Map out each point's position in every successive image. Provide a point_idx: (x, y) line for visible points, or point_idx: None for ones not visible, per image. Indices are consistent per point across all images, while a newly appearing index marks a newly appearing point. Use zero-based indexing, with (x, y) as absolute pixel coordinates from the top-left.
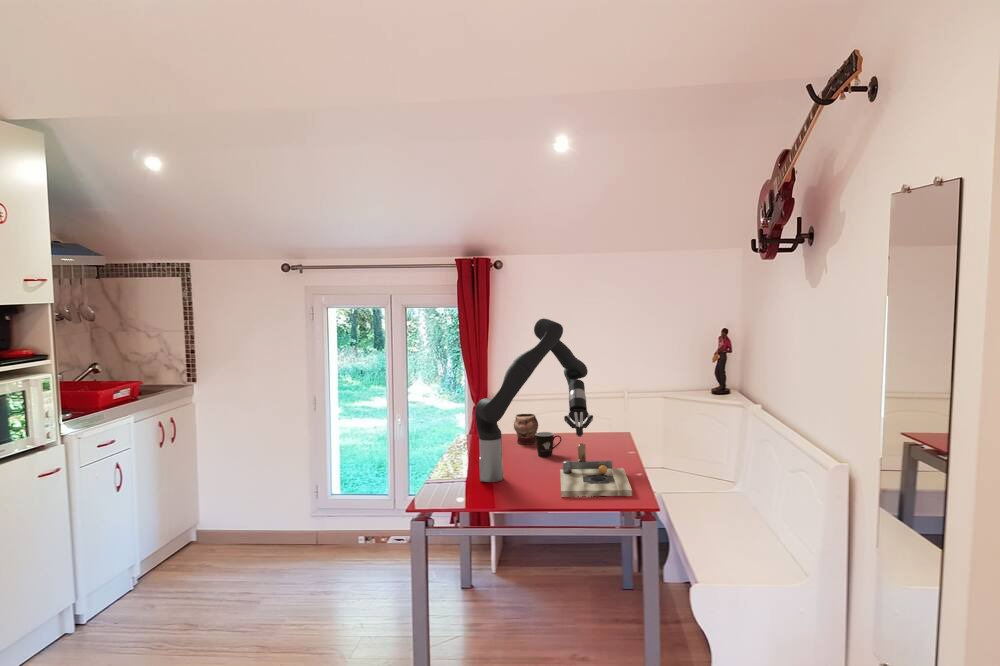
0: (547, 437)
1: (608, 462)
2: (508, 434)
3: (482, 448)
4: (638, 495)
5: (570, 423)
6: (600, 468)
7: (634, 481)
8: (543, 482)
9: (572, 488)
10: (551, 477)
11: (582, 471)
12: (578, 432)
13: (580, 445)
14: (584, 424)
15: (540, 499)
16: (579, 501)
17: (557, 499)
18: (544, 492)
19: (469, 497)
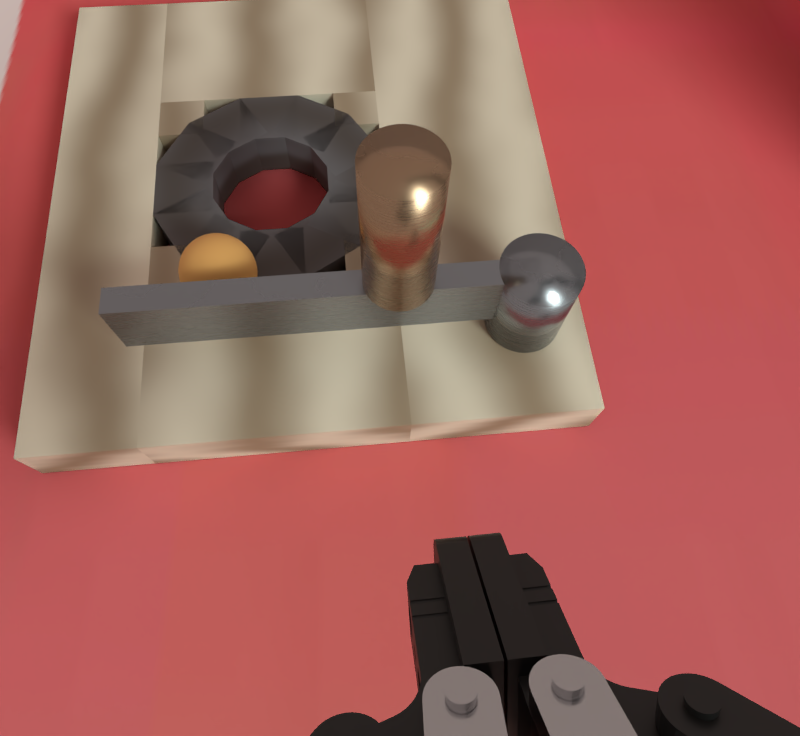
0: None
1: (143, 289)
2: None
3: None
4: (54, 60)
5: (785, 722)
6: (236, 239)
7: (4, 295)
8: (673, 258)
9: (442, 23)
10: (646, 370)
11: (398, 352)
12: (497, 550)
13: (415, 125)
14: (373, 727)
15: (606, 2)
16: None
17: (514, 4)
18: (613, 91)
19: None
